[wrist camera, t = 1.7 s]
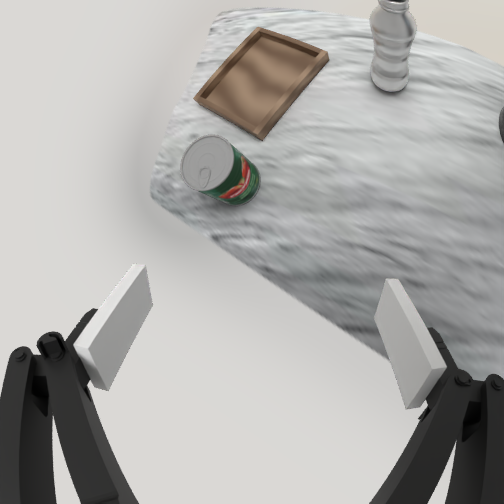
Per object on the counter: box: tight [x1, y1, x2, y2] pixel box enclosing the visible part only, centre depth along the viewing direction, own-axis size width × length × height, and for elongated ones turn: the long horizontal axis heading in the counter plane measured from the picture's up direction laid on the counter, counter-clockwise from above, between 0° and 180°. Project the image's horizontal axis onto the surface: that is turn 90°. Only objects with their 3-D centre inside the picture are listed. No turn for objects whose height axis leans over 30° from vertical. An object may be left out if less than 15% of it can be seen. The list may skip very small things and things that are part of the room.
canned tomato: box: [180, 135, 260, 206], centre depth 42 cm, size 8×8×11 cm
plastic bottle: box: [370, 0, 417, 92], centre depth 29 cm, size 6×7×20 cm
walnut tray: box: [193, 27, 329, 141], centre depth 45 cm, size 20×16×2 cm
